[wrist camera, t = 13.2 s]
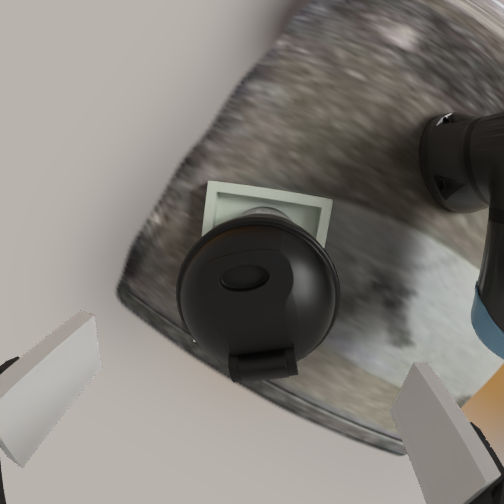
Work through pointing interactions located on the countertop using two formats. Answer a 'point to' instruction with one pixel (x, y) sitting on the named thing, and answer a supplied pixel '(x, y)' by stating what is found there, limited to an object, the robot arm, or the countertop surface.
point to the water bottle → (258, 294)
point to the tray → (247, 197)
